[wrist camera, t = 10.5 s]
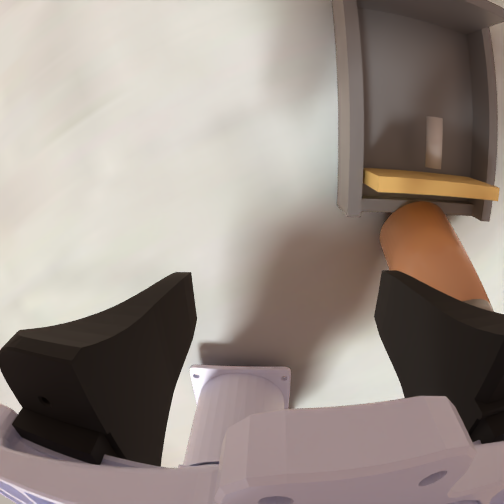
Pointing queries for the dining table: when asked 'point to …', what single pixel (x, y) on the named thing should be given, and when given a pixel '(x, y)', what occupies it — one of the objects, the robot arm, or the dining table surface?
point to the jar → (431, 252)
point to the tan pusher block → (429, 174)
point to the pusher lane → (414, 96)
